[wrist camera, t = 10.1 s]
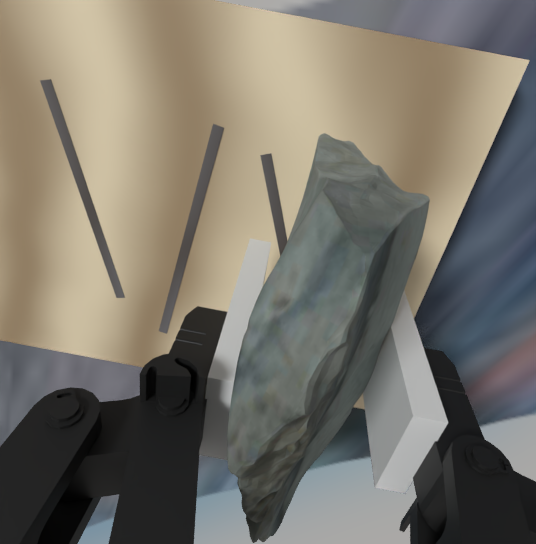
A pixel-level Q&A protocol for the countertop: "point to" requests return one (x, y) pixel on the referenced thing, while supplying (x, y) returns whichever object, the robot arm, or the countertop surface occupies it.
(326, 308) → the stone
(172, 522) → the robot arm
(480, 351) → the countertop surface
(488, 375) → the countertop surface
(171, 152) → the board
